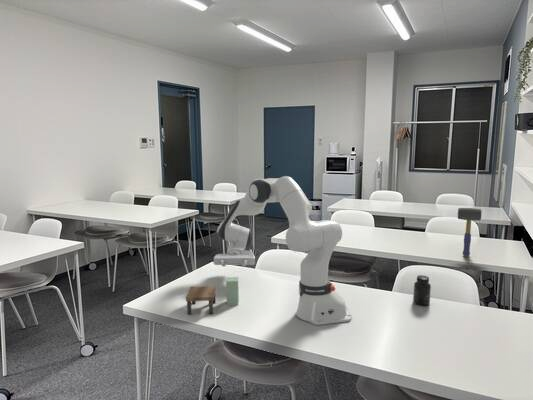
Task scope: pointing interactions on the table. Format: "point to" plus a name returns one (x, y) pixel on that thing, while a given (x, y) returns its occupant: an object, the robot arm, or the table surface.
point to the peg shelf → (201, 296)
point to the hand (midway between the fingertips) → (233, 264)
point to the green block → (232, 290)
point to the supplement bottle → (422, 291)
